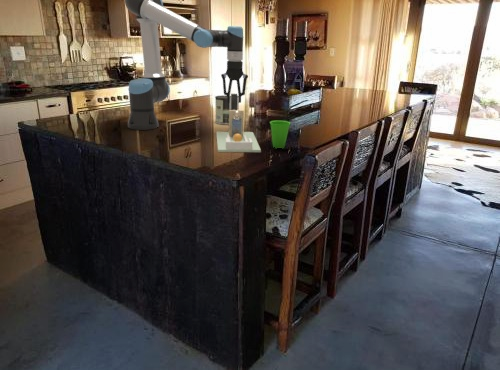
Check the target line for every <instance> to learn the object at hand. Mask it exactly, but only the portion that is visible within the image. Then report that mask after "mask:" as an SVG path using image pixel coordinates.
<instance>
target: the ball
mask: <svg viewBox="0 0 500 370" xmlns="http://www.w3.org/2000/svg"><path fill="white" fill-rule="evenodd" d="M233 140H234V141H235V142H240V141H241V140H242V136H241V135H240V134H238V133H237V134H235V135H234V136H233Z"/></svg>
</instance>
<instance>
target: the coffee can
mask: <svg viewBox="0 0 500 370" xmlns="http://www.w3.org/2000/svg"><path fill="white" fill-rule="evenodd" d="M214 98H215V124H218V125H229V110H230V109H229V103H228V102H227V95H216V96H214Z"/></svg>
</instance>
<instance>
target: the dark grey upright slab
mask: <svg viewBox="0 0 500 370" xmlns="http://www.w3.org/2000/svg"><path fill="white" fill-rule="evenodd" d="M230 96H231V110H237V96H238V93H230ZM239 116H240V112H239V111H235V112H234V119H232V137H233V136H234V135H235V134H237V133H238V134H240V135H241V119H239Z"/></svg>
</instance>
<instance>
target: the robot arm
mask: <svg viewBox="0 0 500 370" xmlns="http://www.w3.org/2000/svg"><path fill="white" fill-rule="evenodd" d="M124 5H125V7H126V9H127V10H128V11H129V12H130V13H131V14H133V15H135V16H136V17H135V18H136V21H137V22H138V23H139V25H140V35H141V44H142V45H141V46H142V47H141V48H142V55H143V57H142V58H143V66H144V67H143V68H144V73H143V75H142V77H141V78H135V79H132V80H130V81H129V82H128V94H129V96H128V98H129V108H130V113H129V117H128V119H127V120H128V121H127V128H128V129H131V130H137V131H143V130H144V131H146V130H154V129H157V127H158V128H159V126H160V125H159V120H158V117H157V116H156V112H155V104H156V103H160V102H163V101H164V100H166V99H167V98H168V97H169V95H170V92H171V89H170V85H169V83H168V81H167V79H166V75H165V74H164V73H163V71H162V61H161V47H160V36H159V25H160V26H162V27H164V28H166V29H168V30H170V31H172V32H174V33H176V34H178V35H180V36H181V37H183V38H185V39H188V40H190V41H191V42H193V43H194V44H195V45H196V47H199V48H202V49H203V48H205V49H206V48H217V47H218V48H227V49H226V51H227V53H226V55H227V56H226V59H227V61H226V72H225V73H221V74H220V75H221V78H222V90H223V96H227V102H228V103H229V109H230V110H231V92H232V85H233V81H236V84H237V85H236V86H237V87H236V88H237V110H240V109H239V107H240V106H239V105H240V103H242V96H245V95H246V86H247V80H248V77H249V76H248V74H245V73H244V71H243V66H244V65H243V64H244V63H243V58H244V57H243V55H244V54H243V53H244V52H243V51H244V29H243V27H242V26H235V25H231V26H230V25H229V26H227V29H226V30H220V29H219V30H218V29H206V28H205V27H203V26H201V25H199V24H197V23H195V22H193V21H191V20H189V19H187V18H186V17H184V16H181V15H180V14H178V13H176V12H175V11H172V10H171V9H168V8H166V7H165V6H164V1H163V0H124ZM158 24H159V25H158ZM227 77H228V79H229V81H228V82H229V83H228V88H227V83H226V78H227ZM241 78H243V81H242V90H241V82H240V79H241Z"/></svg>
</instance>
